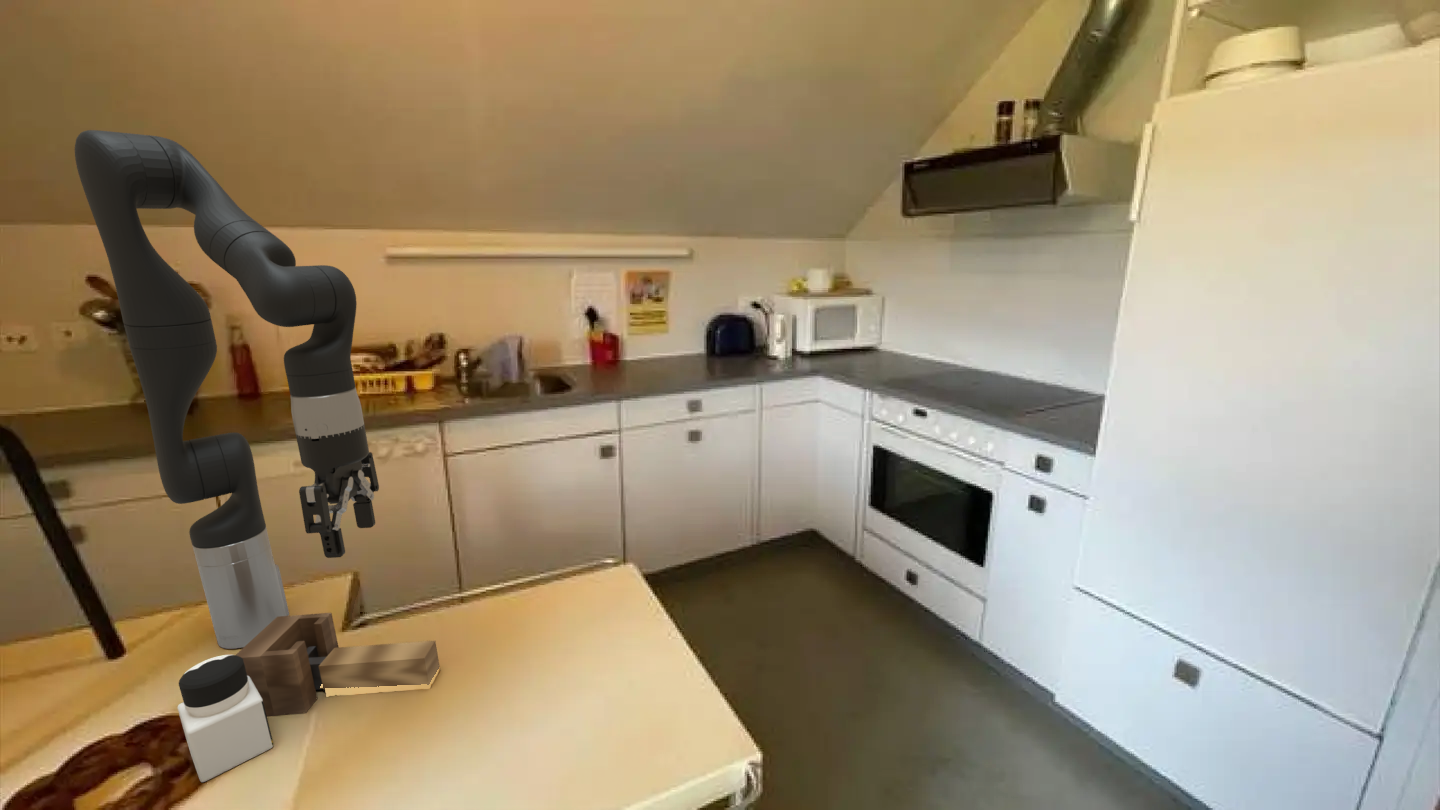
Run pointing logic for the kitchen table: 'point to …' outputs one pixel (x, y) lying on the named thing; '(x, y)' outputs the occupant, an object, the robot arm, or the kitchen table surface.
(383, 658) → the oak rail
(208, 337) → the robot arm
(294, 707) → the wooden u-shaped block
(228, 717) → the medicine bottle
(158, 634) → the kitchen table surface
